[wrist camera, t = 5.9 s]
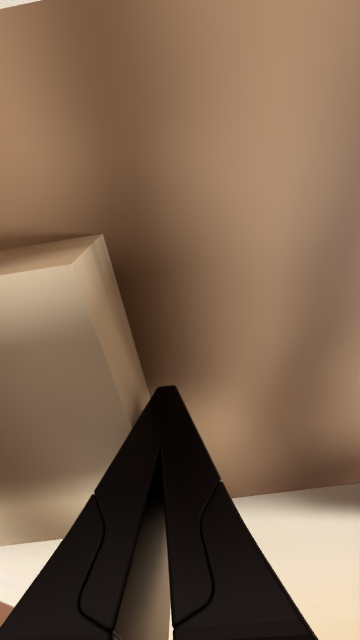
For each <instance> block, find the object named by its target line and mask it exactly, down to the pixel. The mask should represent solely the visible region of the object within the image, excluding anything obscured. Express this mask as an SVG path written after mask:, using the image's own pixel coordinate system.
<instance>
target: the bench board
mask: <svg viewBox="0 0 360 640" xmlns="http://www.w3.org/2000/svg"><path fill="white" fill-rule="evenodd" d="M98 234H103V237H104V240H105V243H106V247H107V250H108V254H109V257H110V261H111V264H112V267H113V271H114V274H115V278H116V281H117V285H118V288H119V292H120V295H121V298H122V302H123V305H124V309H125V312H126V316H127V319H128V323H129V326H130V329H131V333H132V336H133V340H134V343H135V347H136V350H137V353H138V357H139V360H140V364H141V367H142V371H143V374H144V378H145V381H146V384H147V388H148V391H149V395H150V398H151V397H152V395H153V393H154V392H155V390H156V389H157V387H160V386H168V385H175V386H176V387H177V389H178V391H179V393H180V395H181V397H182V399H183V401H184V403H185V405H186V407H187V409H188V411H189V413H190V416H191V418H192V420H193V422H194V424H195V426H196V428H197V430H198V432H199V434H200V436H201V438H202V440H203V442H204V444H205V446H206V448H207V450H208V452H209V454H210V456H211V459H212V461H213V463H214V465H215V467H216V469H217V471H218V473H219V475H220V477H221V480H222V482H223V483H224V485H225V487H226V489H227V491H228V493H229V495H230V497H231V498H237V497H245V496H253V495H262V494H270V493H278V492H287V491H295V490H303V489H312V488H320V487H328V486H337V485H345V484H353V483H360V0H42V1H37V2H32V3H27V4H23V5H18V6H13V7H8V8H3V9H0V251H1V250H7V249H13V248H19V247H25V246H31V245H37V244H43V243H49V242H55V241H61V240H67V239H74V238H80V237H86V236H92V235H98Z"/></svg>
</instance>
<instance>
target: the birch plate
mask: <svg viewBox="0 0 360 640" xmlns="http://www.w3.org/2000/svg"><path fill="white" fill-rule="evenodd" d="M149 400H150V395H149V391H148V388H147V384H146V381H145V378H144V374H143V371H142V367H141V364H140V360H139V357H138V353H137V350H136V347H135V343H134V340H133V336H132V333H131V329H130V326H129V323H128V319H127V316H126V312H125V309H124V305H123V302H122V298H121V295H120V292H119V288H118V285H117V281H116V278H115V274H114V271H113V267H112V264H111V261H110V257H109V254H108V250H107V247H106V243H105V240H104V237H103V234H98V235H92V236H86V237H80V238H74V239H67V240H61V241H55V242H49V243H43V244H37V245H31V246H25V247H19V248H13V249H7V250H1V251H0V546H5V545H13V544H22V543H31V542H39V541H48V540H56V539H64V537H65V536H66V535H67V533H68V532H69V530H70V528H71V527H72V525H73V524H74V522H75V521H76V519H77V517H78V516H79V514H80V513H81V511H82V510H83V508H84V506H85V505H86V503H87V501H88V500H89V498H90V496H91V495H92V494H94V490H95V489H96V487H97V485H98V484H99V482H100V480H101V479H102V477H103V475H104V474H105V472H106V470H107V469H108V467H109V466H110V464H111V462H112V461H113V459H114V457H115V456H116V454H117V452H118V451H119V449H120V448H121V446H122V444H123V443H124V441H125V439H126V438H127V436H128V434H129V433H130V431H131V429H132V428H133V426H134V425H135V423H136V421H137V420H138V418H139V416H140V415H141V413H142V411H143V410H144V408H145V406H146V405H147V403H148V402H149ZM94 495H95V494H94Z"/></svg>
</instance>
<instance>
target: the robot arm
mask: <svg viewBox="0 0 360 640" xmlns="http://www.w3.org/2000/svg"><path fill="white" fill-rule="evenodd" d="M94 494H95V495H94ZM94 494H92V495H91V496H90V498H89V500H88V501H87V503H86V505H85V506H84V508H83V510H82V511H81V513H80V514H79V516H78V517H77V519H76V521H75V522H74V524H73V525H72V527H71V528H70V530H69V532H68V533H67V535H66V536H65V537H64V539H63V540H62V542H61V543H60V545H59V546H58V547H57V549H56V550H55V552H54V553H53V555H52V556H51V557H50V559H49V560H48V562H47V563H46V565H45V566H44V567H43V569H42V570H41V572H40V573H39V574H38V576H37V577H36V578H35V580H34V581H33V583H32V584H31V585H30V587H29V588H28V589H27V591H26V592H25V594H24V595H23V596H22V598H21V599H20V600H19V602H18V603H17V605H16V606H15V607H14V609H13V610H12V612H11V613H10V614H9V616H8V617H7V619H6V620H5V621H4V623H3V624H2V625H1V627H0V640H168V637H169V619H170V602H171V615H172V626H173V628H174V630H173V640H318V638H317V637H316V635H315V634H314V632H313V631H312V629H311V628H310V626H309V625H308V623H307V622H306V620H305V619H304V617H303V616H302V614H301V612H300V611H299V609H298V608H297V606H296V605H295V603H294V601H293V600H292V598H291V597H290V595H289V594H288V592H287V590H286V589H285V587H284V586H283V584H282V583H281V581H280V579H279V578H278V576H277V575H276V573H275V572H274V570H273V568H272V567H271V565H270V564H269V562H268V561H267V559H266V558H265V556H264V554H263V553H262V551H261V550H260V548H259V547H258V545H257V543H256V542H255V540H254V538H253V537H252V535H251V533H250V532H249V530H248V528H247V527H246V525H245V523H244V522H243V520H242V518H241V516H240V514H239V512H238V510H237V508H236V507H235V505H234V503H233V501H232V499H231V497H230V495H229V493H228V491H227V489H226V487H225V485H224V483H223V482H222V480H221V477H220V475H219V473H218V471H217V469H216V467H215V465H214V463H213V461H212V459H211V456H210V454H209V452H208V450H207V448H206V446H205V444H204V442H203V440H202V438H201V436H200V434H199V432H198V430H197V428H196V426H195V424H194V422H193V420H192V418H191V416H190V413H189V411H188V409H187V407H186V405H185V403H184V401H183V399H182V397H181V395H180V393H179V391H178V389H177V387H176V386H175V385H168V386H160V387H157V389H156V390H155V392H154V393H153V395H152V397H151V398H150V400H149V402H148V403H147V405H146V406H145V408H144V410H143V411H142V413H141V415H140V416H139V418H138V420H137V421H136V423H135V425H134V426H133V428H132V429H131V431H130V433H129V434H128V436H127V438H126V439H125V441H124V443H123V444H122V446H121V448H120V449H119V451H118V452H117V454H116V456H115V457H114V459H113V461H112V462H111V464H110V466H109V467H108V469H107V470H106V472H105V474H104V475H103V477H102V479H101V480H100V482H99V484H98V485H97V487H96V489H95V490H94Z"/></svg>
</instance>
